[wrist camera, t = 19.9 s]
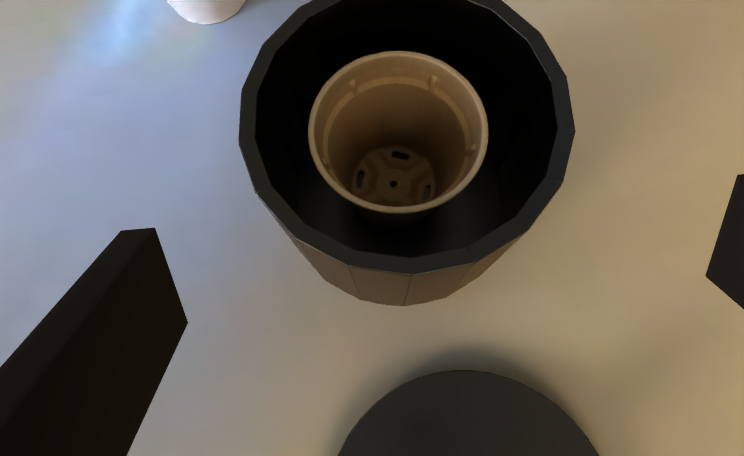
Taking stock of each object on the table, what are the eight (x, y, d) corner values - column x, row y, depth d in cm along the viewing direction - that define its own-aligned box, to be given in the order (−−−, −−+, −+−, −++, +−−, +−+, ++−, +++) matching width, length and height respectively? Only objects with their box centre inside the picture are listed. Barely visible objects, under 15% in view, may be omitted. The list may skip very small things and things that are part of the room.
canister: (253, 264, 32) (183, 212, 21) (332, 72, 36) (309, -57, 25) (476, 339, 30) (528, 325, 19) (533, 128, 34) (603, 15, 23)
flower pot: (444, 114, 34) (462, 34, 26) (478, 236, 32) (511, 191, 23) (317, 140, 34) (294, 67, 26) (341, 265, 31) (324, 230, 23)
